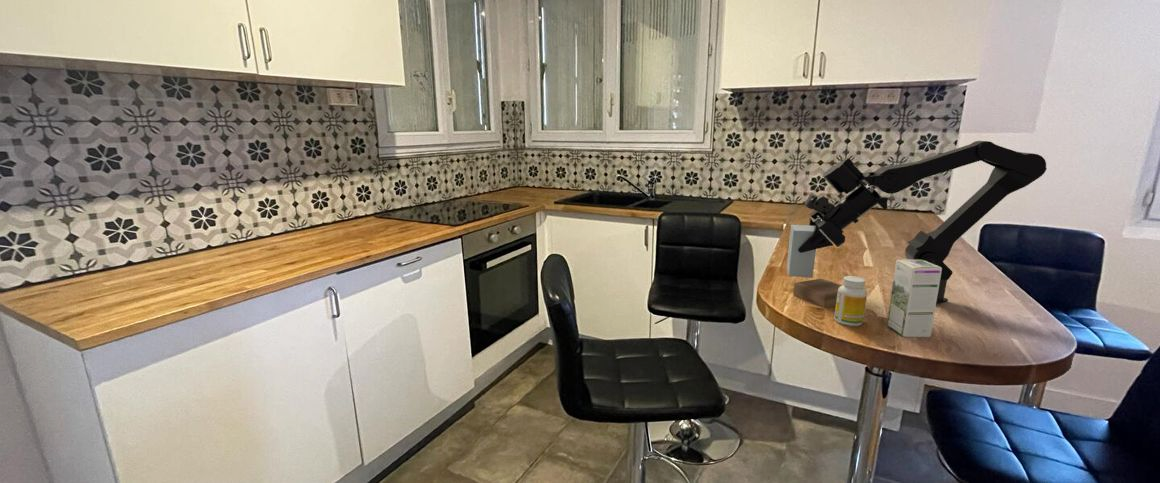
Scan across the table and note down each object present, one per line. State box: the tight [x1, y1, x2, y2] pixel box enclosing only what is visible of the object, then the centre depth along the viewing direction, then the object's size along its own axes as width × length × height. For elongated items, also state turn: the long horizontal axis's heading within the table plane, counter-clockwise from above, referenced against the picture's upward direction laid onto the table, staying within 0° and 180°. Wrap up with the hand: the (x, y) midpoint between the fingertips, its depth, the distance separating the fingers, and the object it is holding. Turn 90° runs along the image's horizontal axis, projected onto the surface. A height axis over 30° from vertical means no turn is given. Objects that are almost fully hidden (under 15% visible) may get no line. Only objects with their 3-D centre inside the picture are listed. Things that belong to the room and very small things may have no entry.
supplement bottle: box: [833, 275, 868, 327], centre depth 103 cm, size 5×5×10 cm
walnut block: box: [792, 278, 843, 308], centre depth 117 cm, size 9×9×4 cm
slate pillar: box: [786, 224, 817, 279], centre depth 123 cm, size 6×6×12 cm
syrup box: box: [886, 258, 942, 338], centre depth 97 cm, size 6×6×14 cm
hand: (797, 248), depth 124 cm, fingers closed on slate pillar, 6 cm apart
